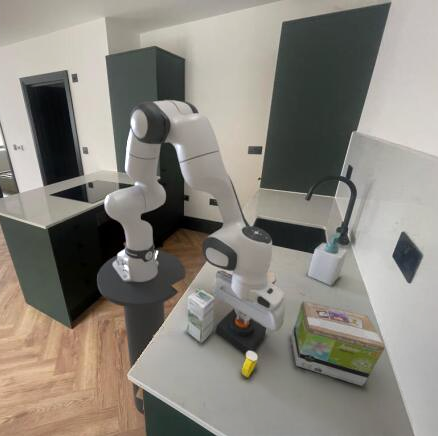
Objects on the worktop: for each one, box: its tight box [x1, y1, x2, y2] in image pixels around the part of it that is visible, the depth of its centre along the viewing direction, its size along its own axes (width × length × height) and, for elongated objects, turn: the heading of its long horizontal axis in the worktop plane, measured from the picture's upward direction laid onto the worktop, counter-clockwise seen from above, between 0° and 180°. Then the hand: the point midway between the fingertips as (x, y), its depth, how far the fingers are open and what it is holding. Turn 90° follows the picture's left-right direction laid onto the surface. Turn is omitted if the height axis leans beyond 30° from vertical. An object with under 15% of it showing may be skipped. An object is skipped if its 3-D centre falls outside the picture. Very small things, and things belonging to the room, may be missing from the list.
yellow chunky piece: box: [241, 350, 259, 378], centre depth 59 cm, size 6×3×6 cm, turn 135°
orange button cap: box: [235, 317, 249, 329], centre depth 69 cm, size 4×4×2 cm
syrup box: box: [186, 287, 216, 344], centre depth 69 cm, size 6×6×14 cm
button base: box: [215, 307, 268, 356], centre depth 70 cm, size 11×10×5 cm
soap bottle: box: [307, 232, 348, 287], centre depth 92 cm, size 9×9×19 cm
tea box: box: [290, 300, 386, 387], centre depth 60 cm, size 15×10×15 cm, turn 70°
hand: (242, 321), depth 69 cm, fingers closed, pressing on orange button cap
